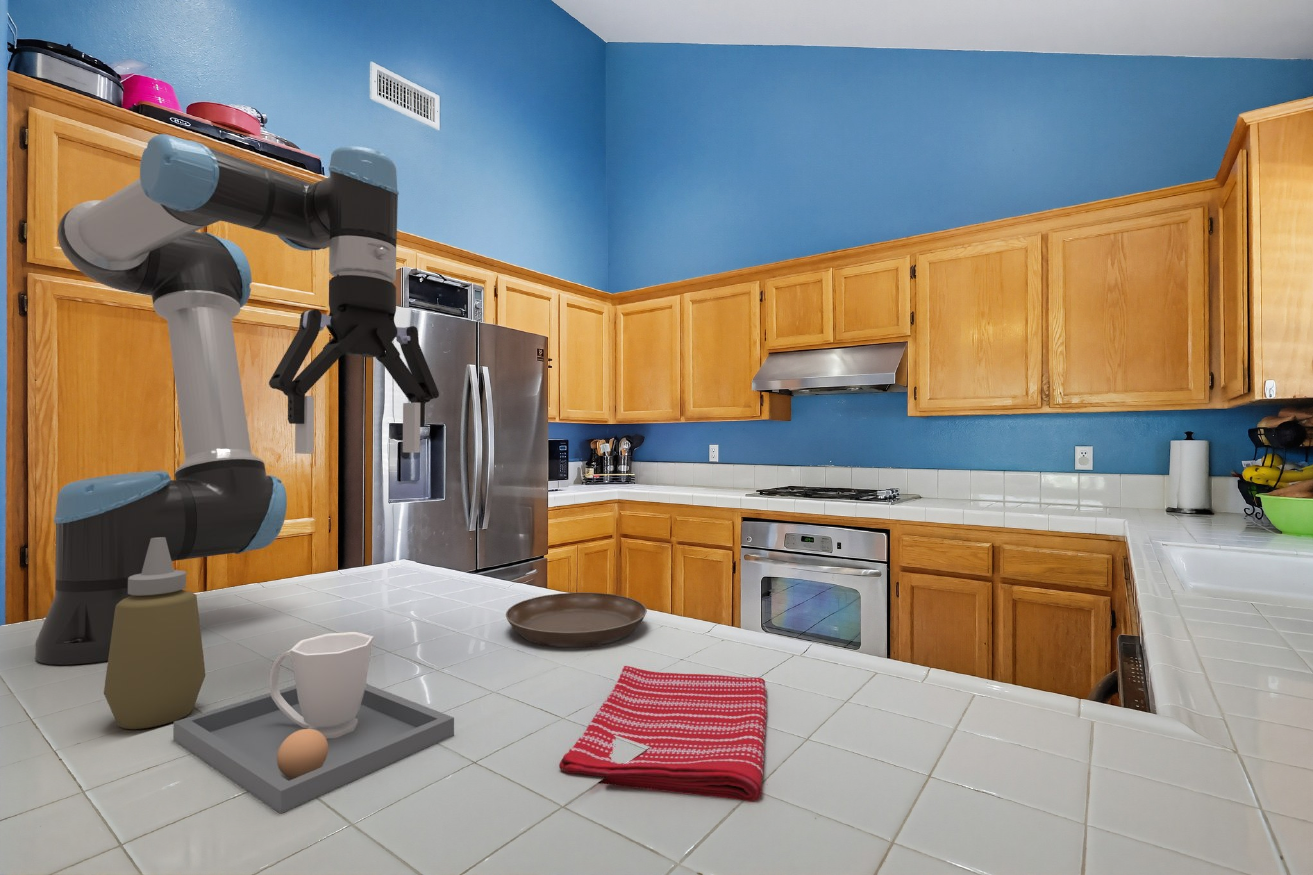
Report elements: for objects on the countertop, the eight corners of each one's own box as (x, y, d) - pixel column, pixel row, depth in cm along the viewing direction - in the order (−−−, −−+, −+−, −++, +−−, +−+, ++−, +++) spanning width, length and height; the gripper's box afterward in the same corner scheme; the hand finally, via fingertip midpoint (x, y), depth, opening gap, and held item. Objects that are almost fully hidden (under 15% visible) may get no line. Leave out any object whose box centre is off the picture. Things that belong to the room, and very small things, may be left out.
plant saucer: (644, 654, 84) (644, 629, 84) (488, 653, 84) (488, 628, 84) (648, 612, 104) (648, 592, 104) (523, 612, 105) (523, 592, 105)
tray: (173, 748, 57) (173, 721, 57) (337, 694, 69) (337, 672, 69) (280, 824, 46) (280, 791, 46) (454, 743, 58) (454, 717, 58)
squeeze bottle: (224, 707, 66) (226, 534, 66) (139, 742, 58) (141, 546, 58) (170, 697, 69) (172, 531, 69) (82, 729, 61) (84, 541, 61)
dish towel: (549, 790, 51) (549, 757, 51) (620, 682, 74) (620, 659, 74) (764, 813, 48) (764, 778, 48) (767, 693, 71) (767, 669, 71)
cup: (341, 749, 55) (341, 656, 55) (241, 740, 57) (242, 650, 57) (388, 715, 62) (389, 633, 62) (298, 708, 64) (299, 627, 64)
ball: (268, 778, 50) (268, 733, 50) (313, 760, 53) (314, 717, 53) (290, 793, 48) (290, 745, 48) (336, 772, 51) (337, 728, 51)
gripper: (267, 249, 66) (265, 454, 65) (466, 295, 86) (465, 452, 86) (236, 261, 70) (234, 453, 70) (432, 302, 90) (431, 451, 90)
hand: (361, 453), depth 78 cm, fingers open, 13 cm apart
